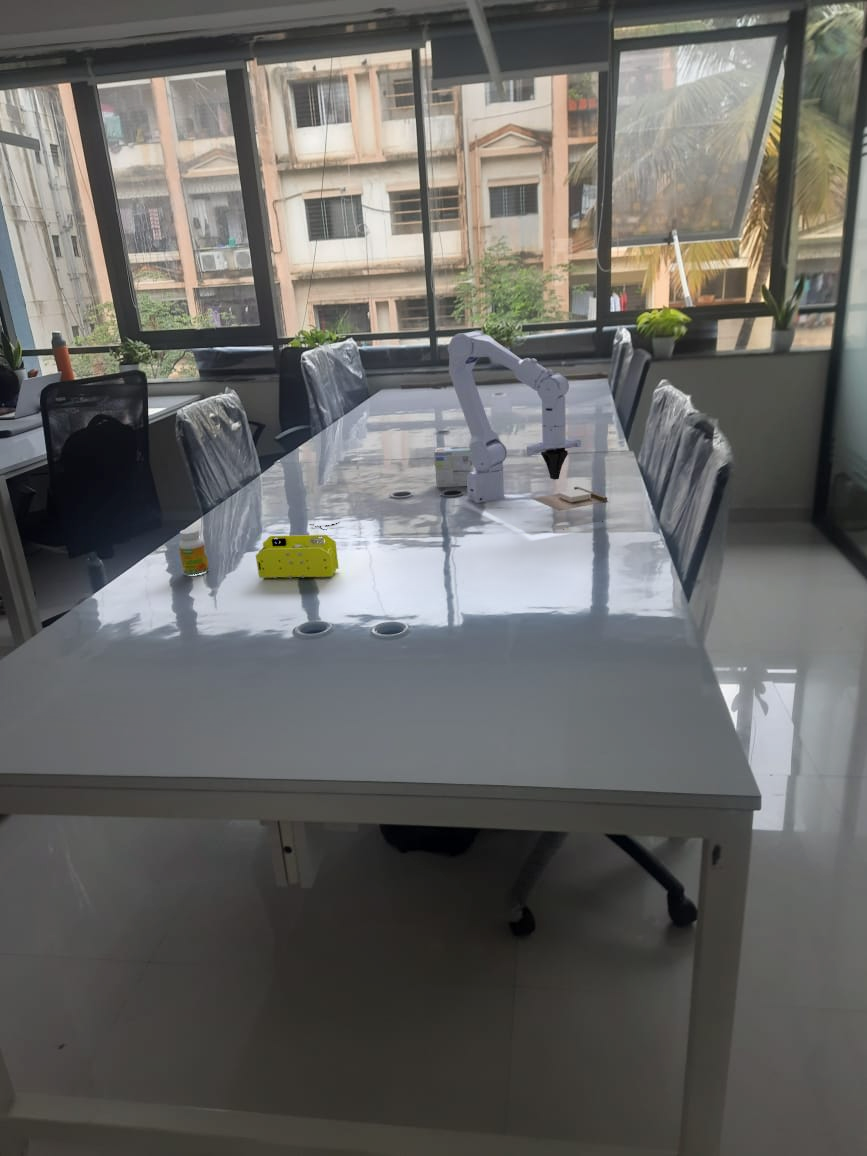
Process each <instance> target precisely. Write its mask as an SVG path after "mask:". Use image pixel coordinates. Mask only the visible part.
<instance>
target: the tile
mask: <svg viewBox="0 0 867 1156" xmlns="http://www.w3.org/2000/svg"><path fill="white" fill-rule="evenodd" d="M558 494H559V498H561V499H564V500H566V501H569V502H577V501H582V500H587V499H591V493H588V492H585V491H583V490H580V489H576V490H574V489H570V490H566V491H560V492H558Z"/></svg>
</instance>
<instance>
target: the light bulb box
mask: <svg viewBox="0 0 867 1156" xmlns="http://www.w3.org/2000/svg"><path fill="white" fill-rule="evenodd" d="M433 455H434V466H435V467H434V468H435V480H436V488H452V487H453V488H454V487H455V488H456V487H467V475H468V473H470V472H473V471H474V468H473V467H474V466H473V465H472V462H471V451H470V447H469V445H463V446H448V447H445V446H444V447H436V449H435V450H434V452H433Z"/></svg>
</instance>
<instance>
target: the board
mask: <svg viewBox="0 0 867 1156" xmlns="http://www.w3.org/2000/svg"><path fill="white" fill-rule="evenodd" d="M573 488H574V489H573V490H576V489H580V490H583V491H585V492H588V493H591V499H587V500H582V501H577V502H569V501H566V500H564V499H561V498H559V493H555V494H550V495H549V494H548V495H544V496H539V497H533V498H531V499H532V500H534V501H536V502H538V503H540V504H543V505H545V506H547V507H550V508H553V509H555V510H558V511H563V510H569V509H574V508H579V507H580V508H581V507H585V506H590V505H595V504H601V503H605V502H608V497H607V496H605V495H602V494H599V493H596V492H594V491H592V490H588V489H586V488H582V487H580V486H574V487H573Z"/></svg>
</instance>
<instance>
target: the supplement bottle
mask: <svg viewBox="0 0 867 1156" xmlns="http://www.w3.org/2000/svg"><path fill="white" fill-rule="evenodd" d="M179 535H180V536H179V537H180V539H181V541H179V544H178V550H179V553H180V560H181V565H182V569H183V570H182V571H183V574H184V573H185V574H187V575H193V574H194V575H195V574H199V573H202V572H205V571H207V570H208V569H209V570H210V566H209V561H208V556H207V550H206V545H205V540H204V539H203V538H202V537H200V536H201V534H200V530H199V529H198V528H196V527H191V528H185V529H181V530H180V531H179ZM185 574H184V575H185Z"/></svg>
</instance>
